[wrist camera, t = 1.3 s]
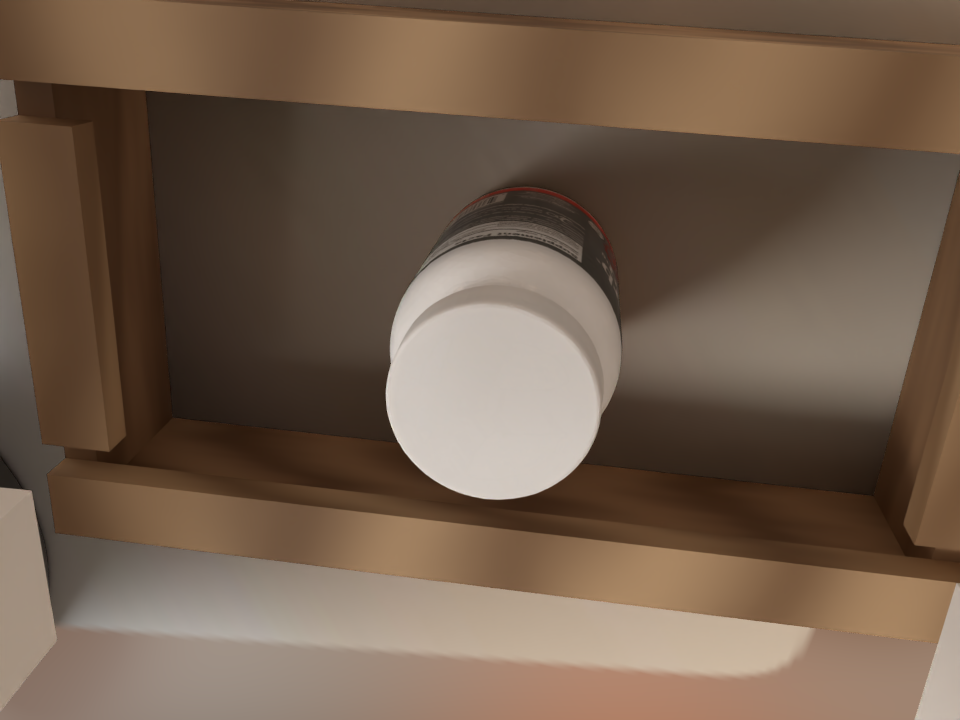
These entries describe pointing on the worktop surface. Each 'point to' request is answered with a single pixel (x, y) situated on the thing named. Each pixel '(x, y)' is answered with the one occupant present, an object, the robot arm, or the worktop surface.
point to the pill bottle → (507, 346)
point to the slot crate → (384, 465)
